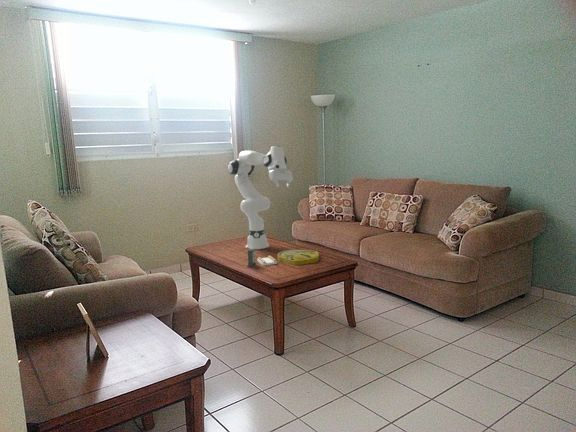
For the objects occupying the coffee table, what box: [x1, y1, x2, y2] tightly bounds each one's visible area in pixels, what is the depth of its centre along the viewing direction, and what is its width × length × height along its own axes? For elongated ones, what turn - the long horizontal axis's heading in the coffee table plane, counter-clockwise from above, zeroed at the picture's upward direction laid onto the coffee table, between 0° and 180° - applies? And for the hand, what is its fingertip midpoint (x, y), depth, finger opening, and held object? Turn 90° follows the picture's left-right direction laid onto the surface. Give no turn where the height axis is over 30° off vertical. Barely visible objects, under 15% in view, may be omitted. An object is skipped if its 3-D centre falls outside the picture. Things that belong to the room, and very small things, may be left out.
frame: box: [246, 248, 257, 268], centre depth 293 cm, size 6×4×11 cm
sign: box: [277, 249, 320, 266], centre depth 308 cm, size 28×3×30 cm
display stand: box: [256, 255, 278, 266], centre depth 301 cm, size 13×10×3 cm
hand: (283, 187), depth 302 cm, fingers open, 8 cm apart
